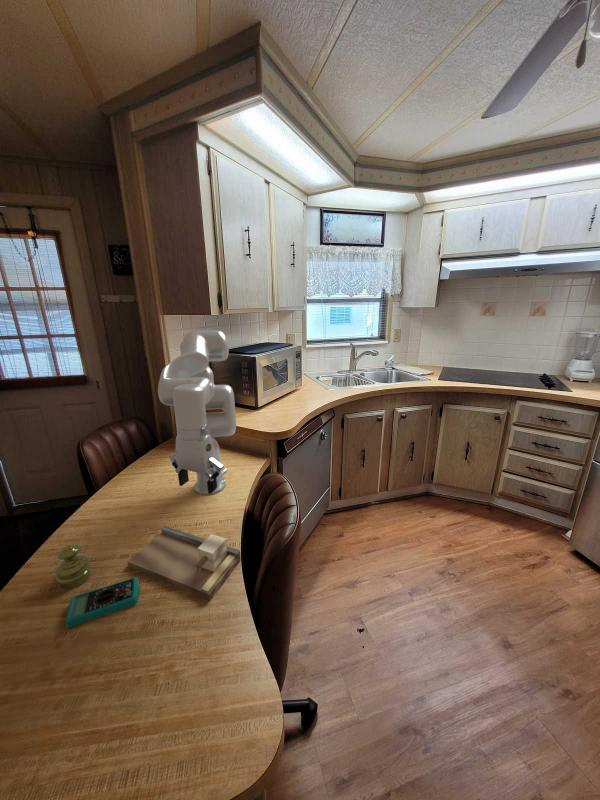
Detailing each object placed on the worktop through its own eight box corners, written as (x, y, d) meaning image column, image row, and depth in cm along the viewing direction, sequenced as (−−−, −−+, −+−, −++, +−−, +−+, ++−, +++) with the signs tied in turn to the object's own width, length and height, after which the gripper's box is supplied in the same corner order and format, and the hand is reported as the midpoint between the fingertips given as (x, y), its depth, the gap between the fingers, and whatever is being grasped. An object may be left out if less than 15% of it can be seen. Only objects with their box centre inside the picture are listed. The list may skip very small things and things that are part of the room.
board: (166, 535, 98) (164, 525, 98) (240, 560, 89) (240, 550, 88) (128, 567, 86) (126, 557, 85) (210, 600, 76) (209, 589, 75)
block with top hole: (212, 551, 89) (211, 534, 88) (227, 556, 87) (226, 538, 86) (191, 574, 81) (189, 556, 79) (207, 580, 79) (205, 561, 78)
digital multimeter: (139, 605, 75) (138, 596, 74) (65, 631, 69) (63, 621, 68) (140, 582, 82) (138, 573, 81) (72, 604, 75) (70, 595, 75)
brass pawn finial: (62, 572, 84) (54, 542, 81) (94, 564, 87) (87, 534, 84) (54, 594, 78) (45, 562, 75) (88, 584, 80) (81, 553, 78)
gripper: (228, 430, 81) (232, 486, 86) (176, 421, 86) (182, 474, 92) (211, 442, 74) (216, 502, 79) (155, 431, 80) (163, 487, 85)
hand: (198, 487), depth 86 cm, fingers open, 9 cm apart
